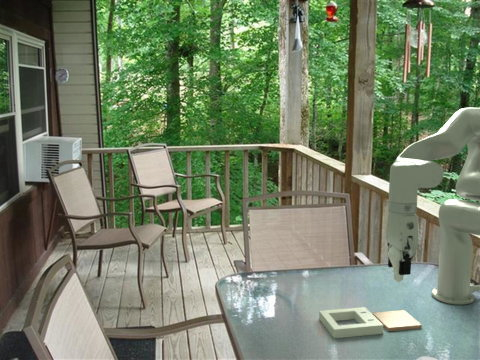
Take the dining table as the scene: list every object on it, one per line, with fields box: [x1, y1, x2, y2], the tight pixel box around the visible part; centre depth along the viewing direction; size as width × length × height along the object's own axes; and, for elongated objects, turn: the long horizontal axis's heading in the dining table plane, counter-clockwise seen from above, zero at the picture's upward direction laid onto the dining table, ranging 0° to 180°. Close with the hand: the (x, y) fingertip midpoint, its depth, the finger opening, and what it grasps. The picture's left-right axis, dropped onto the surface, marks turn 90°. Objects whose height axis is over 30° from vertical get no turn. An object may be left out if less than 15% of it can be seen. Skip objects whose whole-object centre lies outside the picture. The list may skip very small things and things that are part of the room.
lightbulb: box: [387, 246, 408, 283], centre depth 145 cm, size 6×6×11 cm
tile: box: [371, 309, 423, 332], centre depth 148 cm, size 10×10×1 cm
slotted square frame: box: [318, 306, 384, 339], centre depth 146 cm, size 14×12×3 cm
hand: (398, 269), depth 146 cm, fingers closed on lightbulb, 5 cm apart
